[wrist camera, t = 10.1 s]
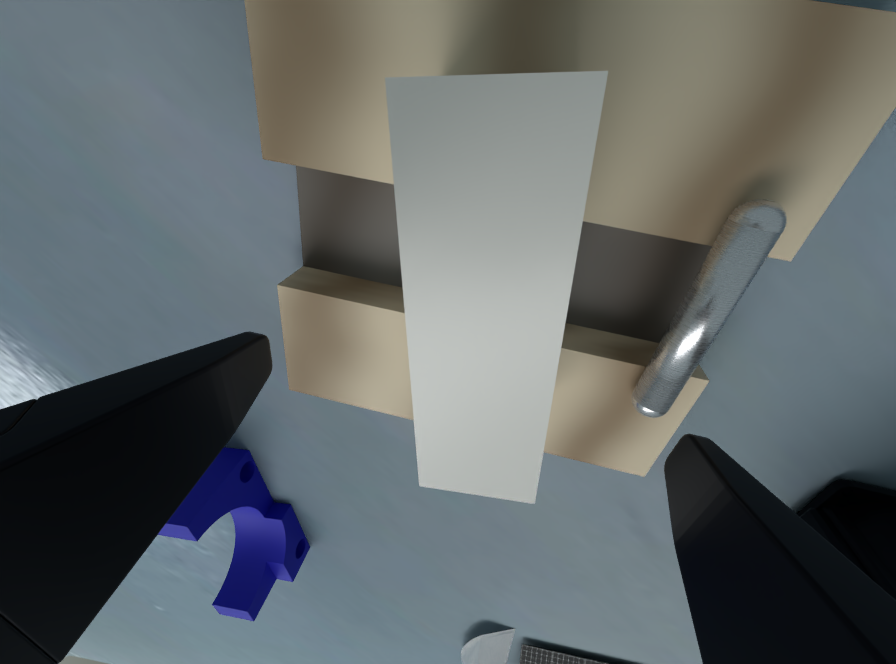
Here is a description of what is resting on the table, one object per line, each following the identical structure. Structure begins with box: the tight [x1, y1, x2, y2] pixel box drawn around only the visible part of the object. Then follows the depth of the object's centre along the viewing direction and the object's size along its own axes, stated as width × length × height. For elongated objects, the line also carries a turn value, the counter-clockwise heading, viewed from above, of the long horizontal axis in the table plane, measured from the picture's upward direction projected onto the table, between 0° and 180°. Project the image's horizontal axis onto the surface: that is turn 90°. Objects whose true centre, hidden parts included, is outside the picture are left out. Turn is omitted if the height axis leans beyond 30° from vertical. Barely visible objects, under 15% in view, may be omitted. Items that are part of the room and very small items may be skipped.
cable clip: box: [158, 447, 310, 621], centre depth 28 cm, size 12×4×6 cm, turn 4°
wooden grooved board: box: [245, 0, 896, 477], centre depth 14 cm, size 18×17×4 cm
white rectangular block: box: [385, 71, 608, 504], centre depth 12 cm, size 4×12×5 cm, turn 1°
